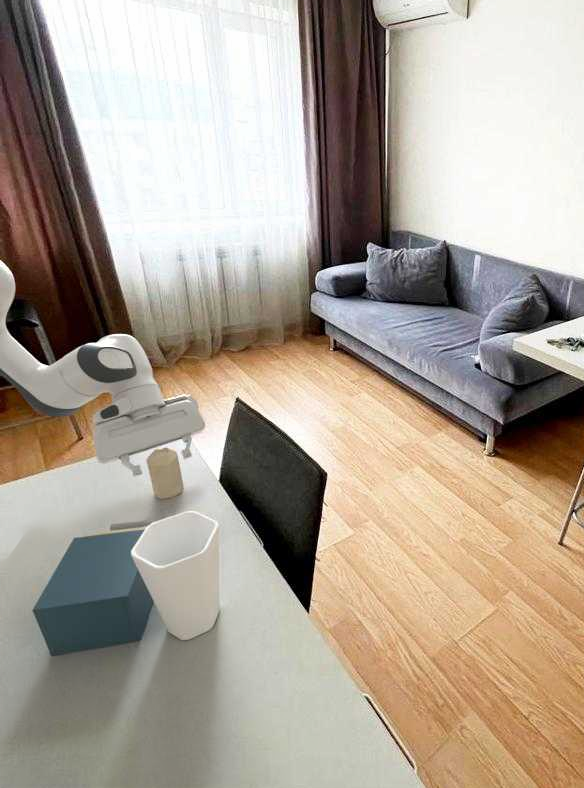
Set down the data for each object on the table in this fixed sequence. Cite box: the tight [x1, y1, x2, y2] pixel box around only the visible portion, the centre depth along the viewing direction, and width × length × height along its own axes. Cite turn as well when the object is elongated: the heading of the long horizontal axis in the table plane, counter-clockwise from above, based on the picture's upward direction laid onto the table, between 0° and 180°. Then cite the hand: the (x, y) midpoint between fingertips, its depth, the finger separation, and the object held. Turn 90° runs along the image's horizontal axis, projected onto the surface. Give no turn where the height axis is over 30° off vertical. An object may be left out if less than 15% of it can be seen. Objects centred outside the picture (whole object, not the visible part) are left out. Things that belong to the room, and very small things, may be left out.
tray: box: [82, 519, 152, 537], centre depth 81 cm, size 17×10×8 cm, turn 14°
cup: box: [131, 510, 221, 641], centre depth 74 cm, size 11×10×17 cm
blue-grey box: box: [32, 529, 155, 657], centre depth 77 cm, size 14×12×10 cm
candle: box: [146, 446, 185, 500], centre depth 102 cm, size 6×6×10 cm
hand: (163, 466), depth 102 cm, fingers open, 8 cm apart
